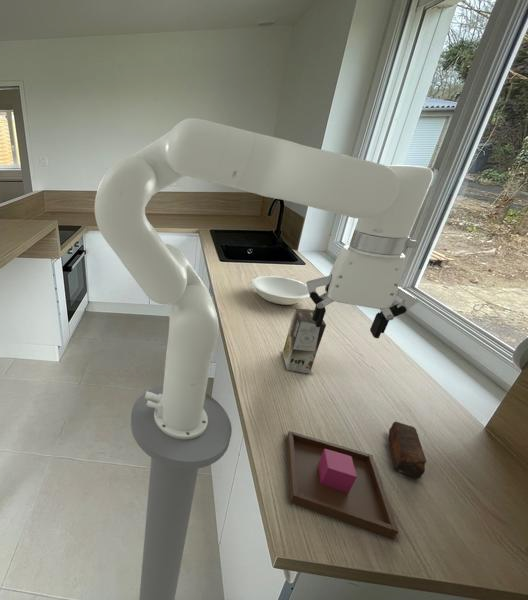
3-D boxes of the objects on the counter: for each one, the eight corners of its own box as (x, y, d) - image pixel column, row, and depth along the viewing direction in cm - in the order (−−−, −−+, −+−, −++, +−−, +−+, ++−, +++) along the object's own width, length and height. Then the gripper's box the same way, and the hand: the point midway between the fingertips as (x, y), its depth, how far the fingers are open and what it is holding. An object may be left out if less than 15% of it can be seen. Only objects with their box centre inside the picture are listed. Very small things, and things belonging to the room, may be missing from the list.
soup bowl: (315, 299, 137) (319, 285, 135) (300, 319, 121) (304, 303, 118) (259, 284, 151) (262, 271, 148) (238, 300, 135) (241, 285, 132)
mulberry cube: (320, 484, 61) (328, 467, 59) (317, 464, 64) (324, 448, 62) (348, 493, 59) (357, 477, 57) (343, 472, 63) (351, 456, 61)
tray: (290, 502, 58) (293, 495, 57) (286, 437, 71) (288, 430, 70) (393, 539, 53) (398, 531, 52) (368, 461, 66) (372, 454, 65)
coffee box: (310, 374, 91) (327, 325, 84) (286, 369, 93) (300, 321, 86) (304, 356, 99) (318, 310, 92) (281, 352, 101) (294, 306, 94)
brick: (385, 435, 72) (393, 419, 70) (407, 442, 71) (416, 426, 69) (393, 472, 64) (403, 456, 62) (418, 482, 62) (429, 465, 60)
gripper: (429, 244, 55) (391, 329, 63) (317, 232, 61) (294, 312, 68) (450, 256, 49) (405, 349, 56) (323, 242, 55) (297, 328, 62)
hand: (344, 329), depth 62 cm, fingers open, 9 cm apart
